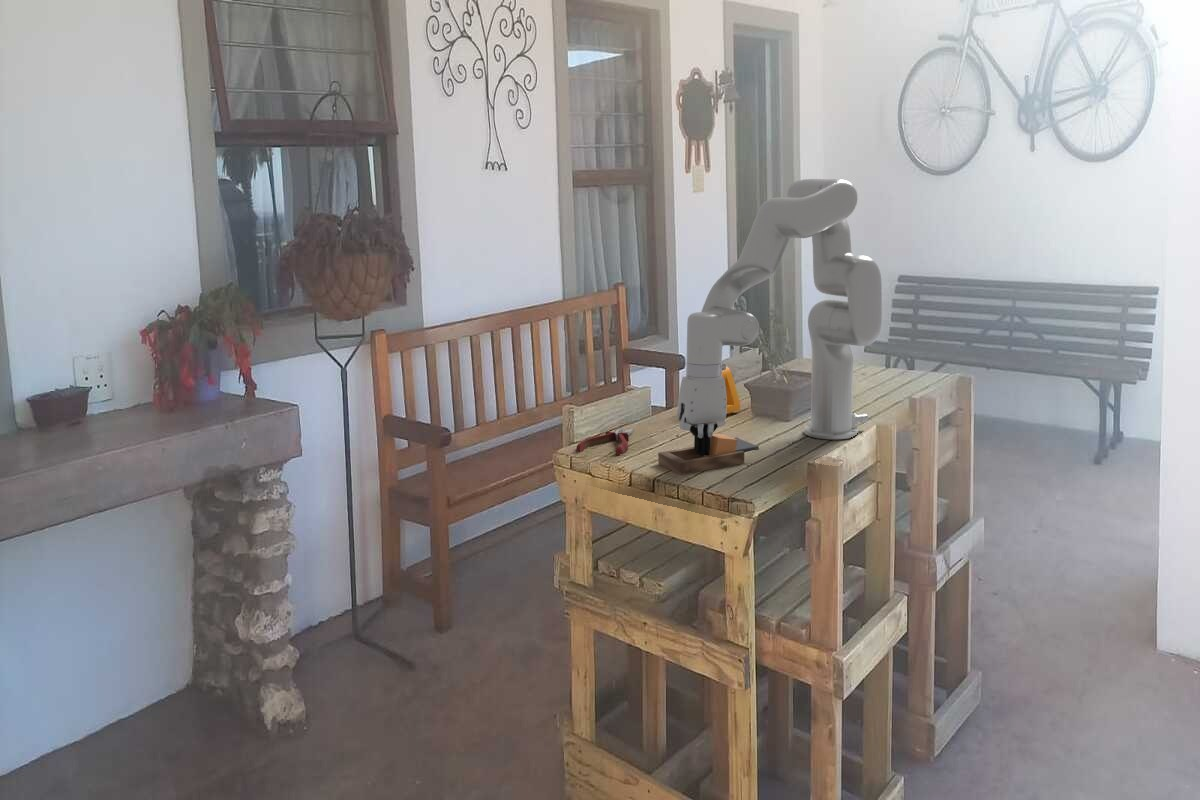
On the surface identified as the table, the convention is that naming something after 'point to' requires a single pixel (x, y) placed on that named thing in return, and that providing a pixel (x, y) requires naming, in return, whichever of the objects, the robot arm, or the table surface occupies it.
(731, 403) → the bracket
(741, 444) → the rubber mat
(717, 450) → the orange block
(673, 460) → the brown wooden tray
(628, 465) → the table surface
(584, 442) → the pliers
